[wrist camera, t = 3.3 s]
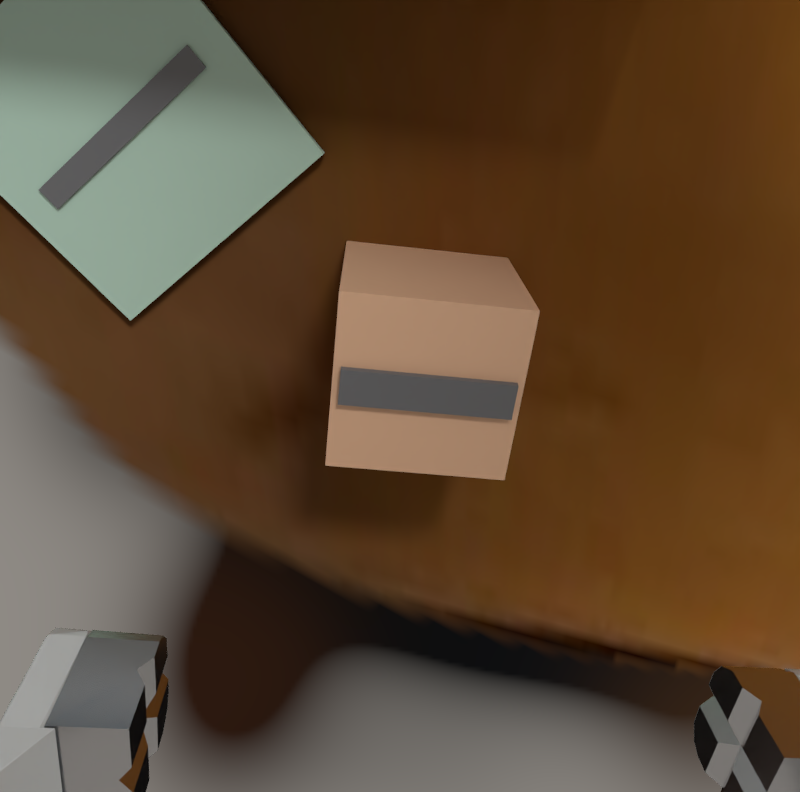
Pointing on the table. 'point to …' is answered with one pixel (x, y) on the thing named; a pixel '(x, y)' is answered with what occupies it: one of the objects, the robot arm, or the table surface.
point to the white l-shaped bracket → (137, 136)
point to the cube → (428, 361)
